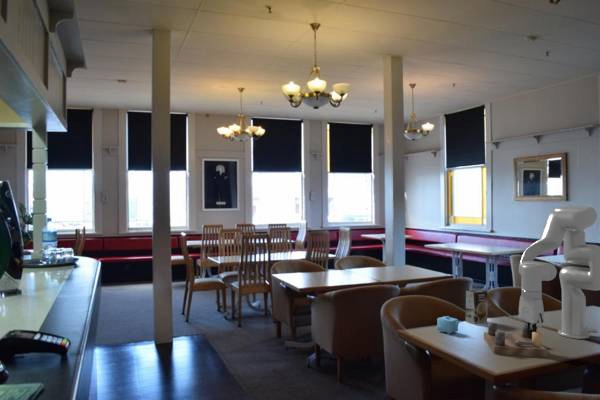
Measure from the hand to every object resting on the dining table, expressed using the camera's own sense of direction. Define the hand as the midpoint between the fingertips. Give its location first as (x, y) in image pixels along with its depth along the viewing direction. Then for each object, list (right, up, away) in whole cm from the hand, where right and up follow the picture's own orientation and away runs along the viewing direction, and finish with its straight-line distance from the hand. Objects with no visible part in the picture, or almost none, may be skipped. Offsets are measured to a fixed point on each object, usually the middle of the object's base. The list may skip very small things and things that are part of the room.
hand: (531, 338), depth 187 cm
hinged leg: (-3, -2, -4) cm, 5 cm away
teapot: (-26, -5, +25) cm, 37 cm away
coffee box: (-6, -6, +44) cm, 45 cm away
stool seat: (-6, -5, +4) cm, 9 cm away
